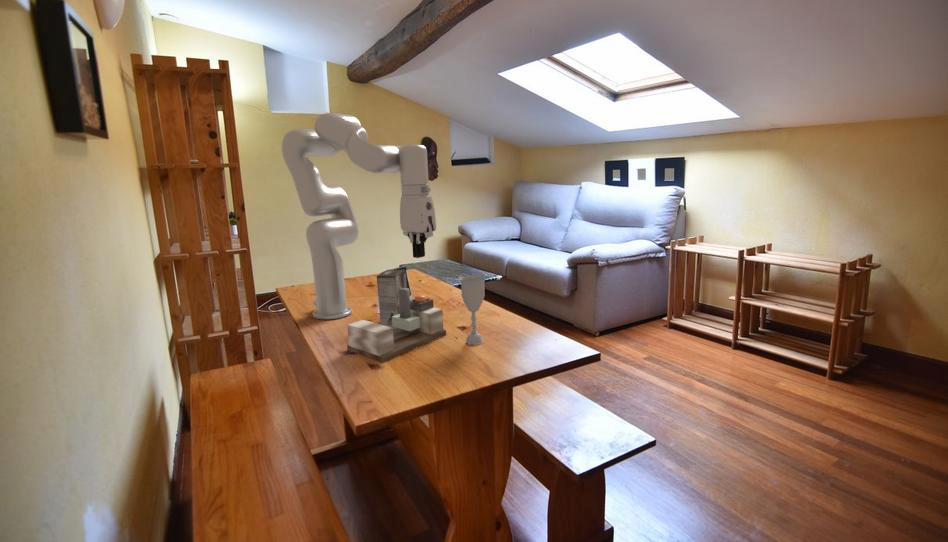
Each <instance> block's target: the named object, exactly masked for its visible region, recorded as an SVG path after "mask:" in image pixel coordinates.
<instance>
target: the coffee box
mask: <svg viewBox="0 0 948 542" xmlns="http://www.w3.org/2000/svg"><path fill="white" fill-rule="evenodd" d="M376 282H377V285H376V287H377V296H378V308H379V309H378V310H379V324H380V325H384V326H388V327H391V328H393V327H392V316H395V315H398V314H400V308H399V292H398V289H400V288H408V282H407V269H386V270H385V271H383V272H381V273H380V274H378V275H377V276H376Z"/></svg>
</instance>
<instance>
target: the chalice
mask: <svg viewBox="0 0 948 542" xmlns="http://www.w3.org/2000/svg"><path fill="white" fill-rule="evenodd" d="M458 279H459V281H460V283H461V285H460V288H461V291H460V292H461V298H462V300H463V303H464V305H465V307H466V309H467V310H468V311H469V312H471V318H470V319H471V324H470V326H471V328H472V330H471V332H469V333H468V334H467V337H466V340H465V341H466V343H468V344H467V345H469V344H473V345H472V346H478V344H479V345H482V344H484V340H483V337H482V335H481V333H479V332H477V330H476V329H477V326H478V323H476V321H477V317H476V312H478V311H479V310H480V308H481V306H482V304H483V301H484V298H485V295H486V293H485V281H486V279H487V277H486V276H482V275H477V274H476V275H472V274H471V275H464V276H459V278H458Z"/></svg>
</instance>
